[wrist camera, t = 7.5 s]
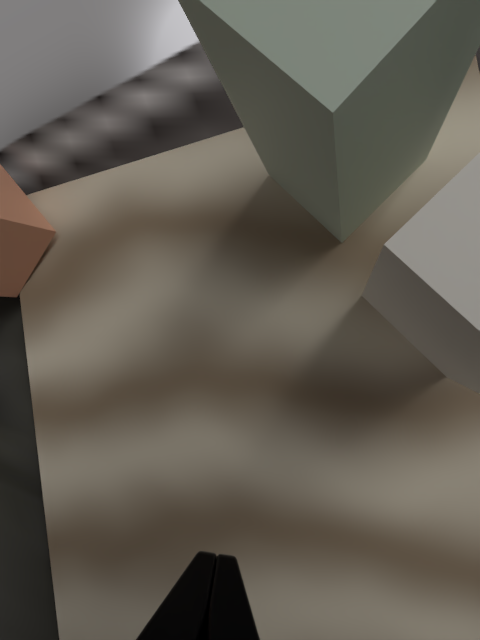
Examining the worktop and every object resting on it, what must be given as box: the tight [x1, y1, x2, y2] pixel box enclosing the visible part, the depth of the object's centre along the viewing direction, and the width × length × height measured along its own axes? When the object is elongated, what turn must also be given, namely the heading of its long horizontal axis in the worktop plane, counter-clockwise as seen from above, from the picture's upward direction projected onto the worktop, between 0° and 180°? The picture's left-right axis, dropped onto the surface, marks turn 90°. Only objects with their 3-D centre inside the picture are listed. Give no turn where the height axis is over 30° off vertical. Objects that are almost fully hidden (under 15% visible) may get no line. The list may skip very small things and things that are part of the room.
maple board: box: [20, 55, 480, 640], centre depth 17 cm, size 24×23×1 cm
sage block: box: [178, 0, 480, 243], centre depth 11 cm, size 4×4×10 cm
